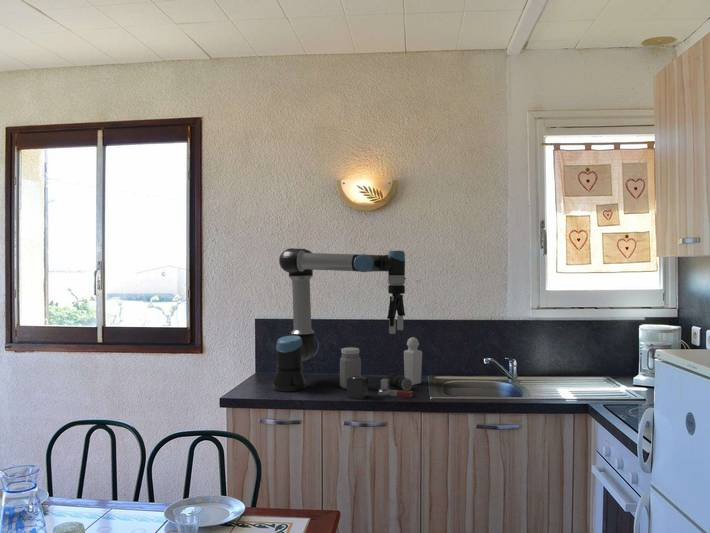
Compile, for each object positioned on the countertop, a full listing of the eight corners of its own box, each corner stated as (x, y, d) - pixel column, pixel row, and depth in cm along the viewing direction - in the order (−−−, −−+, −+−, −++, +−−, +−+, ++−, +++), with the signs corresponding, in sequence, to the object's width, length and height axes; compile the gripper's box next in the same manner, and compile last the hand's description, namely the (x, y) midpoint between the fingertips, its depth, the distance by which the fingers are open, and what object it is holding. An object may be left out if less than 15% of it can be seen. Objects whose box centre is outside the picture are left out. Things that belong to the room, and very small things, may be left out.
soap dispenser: (412, 380, 265) (412, 336, 265) (422, 383, 260) (422, 337, 260) (403, 382, 260) (403, 337, 260) (413, 385, 256) (413, 338, 255)
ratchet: (376, 395, 236) (376, 380, 236) (380, 392, 242) (380, 377, 242) (409, 398, 231) (409, 383, 231) (413, 395, 237) (413, 380, 237)
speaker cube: (347, 397, 232) (347, 378, 232) (352, 394, 238) (352, 375, 238) (362, 399, 229) (362, 379, 229) (367, 395, 236) (367, 376, 236)
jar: (339, 389, 246) (339, 350, 246) (340, 385, 256) (340, 347, 256) (361, 389, 246) (361, 350, 246) (360, 385, 256) (360, 347, 256)
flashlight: (385, 384, 258) (385, 373, 258) (395, 383, 261) (395, 372, 261) (402, 391, 244) (402, 379, 244) (412, 390, 247) (412, 378, 247)
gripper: (397, 286, 231) (397, 335, 231) (411, 283, 254) (411, 328, 255) (380, 285, 233) (380, 334, 234) (395, 283, 257) (395, 328, 257)
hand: (396, 331), depth 244 cm, fingers open, 13 cm apart
